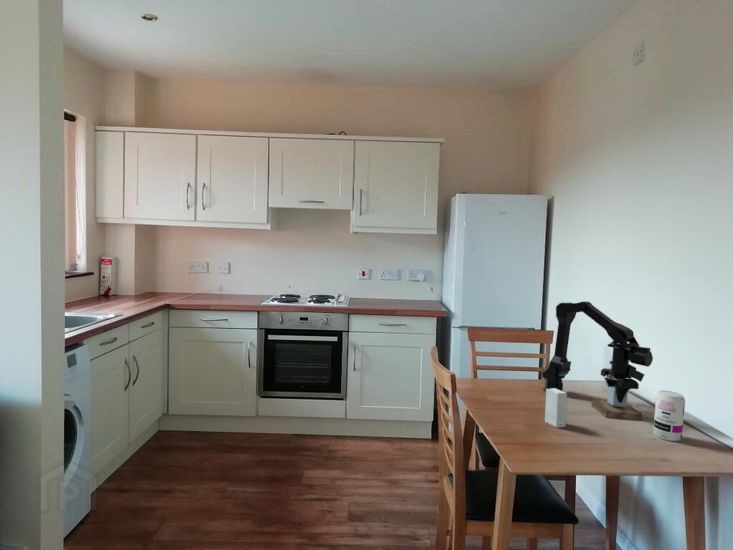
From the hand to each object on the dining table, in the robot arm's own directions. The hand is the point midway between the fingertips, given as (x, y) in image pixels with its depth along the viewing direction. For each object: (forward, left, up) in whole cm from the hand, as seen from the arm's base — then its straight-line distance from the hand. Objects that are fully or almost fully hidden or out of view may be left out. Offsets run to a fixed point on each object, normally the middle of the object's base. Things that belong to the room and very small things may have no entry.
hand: (616, 400), depth 182 cm
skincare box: (-29, -18, -5) cm, 35 cm away
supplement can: (+7, -22, -5) cm, 24 cm away
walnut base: (0, 0, -5) cm, 5 cm away
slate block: (0, 0, -2) cm, 2 cm away
